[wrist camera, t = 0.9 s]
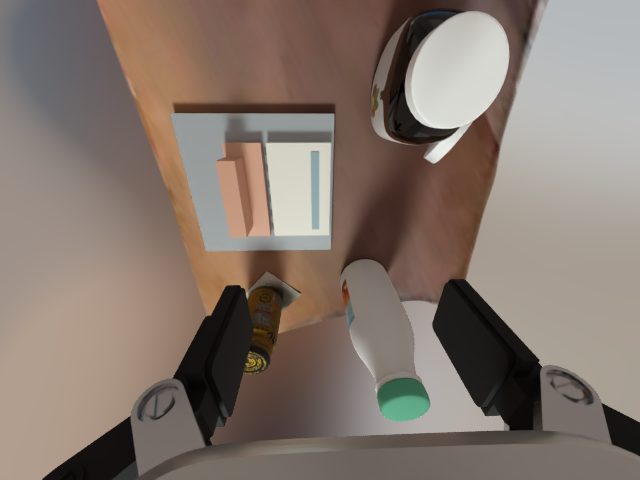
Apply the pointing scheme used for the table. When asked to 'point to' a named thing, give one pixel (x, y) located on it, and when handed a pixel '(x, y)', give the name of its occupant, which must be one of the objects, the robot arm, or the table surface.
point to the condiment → (266, 318)
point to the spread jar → (438, 78)
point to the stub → (244, 189)
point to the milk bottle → (383, 339)
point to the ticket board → (280, 171)
